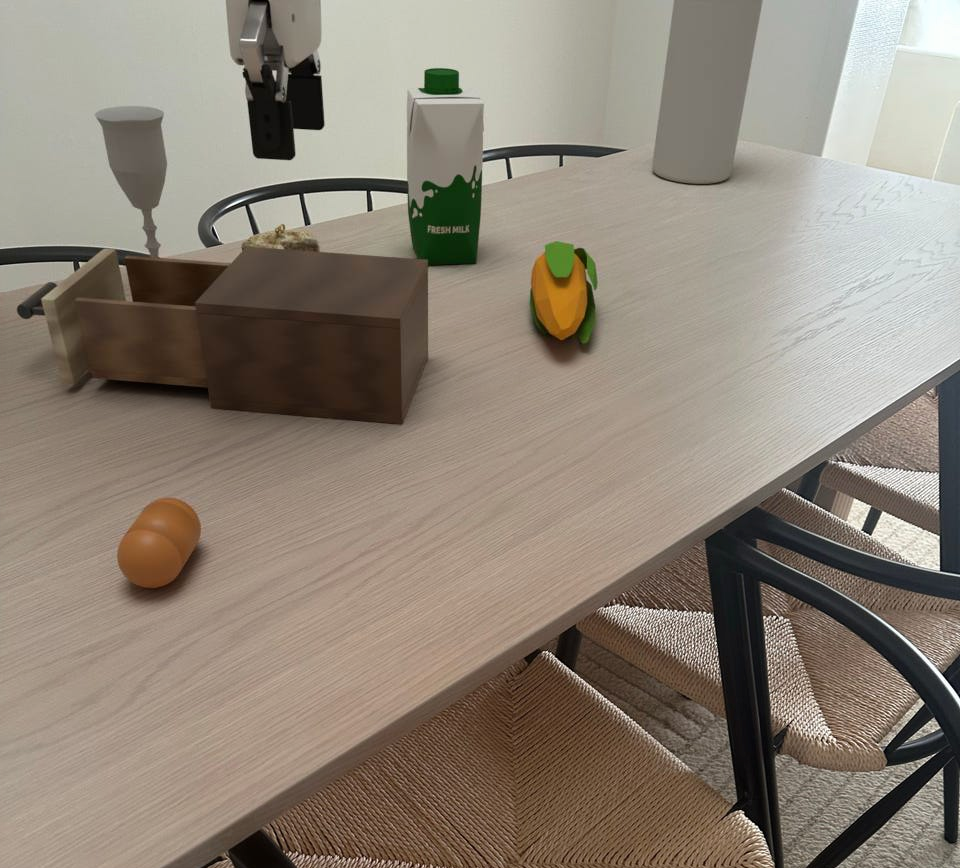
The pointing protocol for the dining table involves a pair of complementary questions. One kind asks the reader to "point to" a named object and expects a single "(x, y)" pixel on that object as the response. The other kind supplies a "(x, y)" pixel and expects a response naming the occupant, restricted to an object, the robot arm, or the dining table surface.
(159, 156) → the chalice
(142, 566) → the bread roll
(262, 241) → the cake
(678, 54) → the cylinder vase
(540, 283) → the corn
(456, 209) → the milk carton
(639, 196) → the dining table surface
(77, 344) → the drawer
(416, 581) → the dining table surface
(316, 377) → the cabinet
